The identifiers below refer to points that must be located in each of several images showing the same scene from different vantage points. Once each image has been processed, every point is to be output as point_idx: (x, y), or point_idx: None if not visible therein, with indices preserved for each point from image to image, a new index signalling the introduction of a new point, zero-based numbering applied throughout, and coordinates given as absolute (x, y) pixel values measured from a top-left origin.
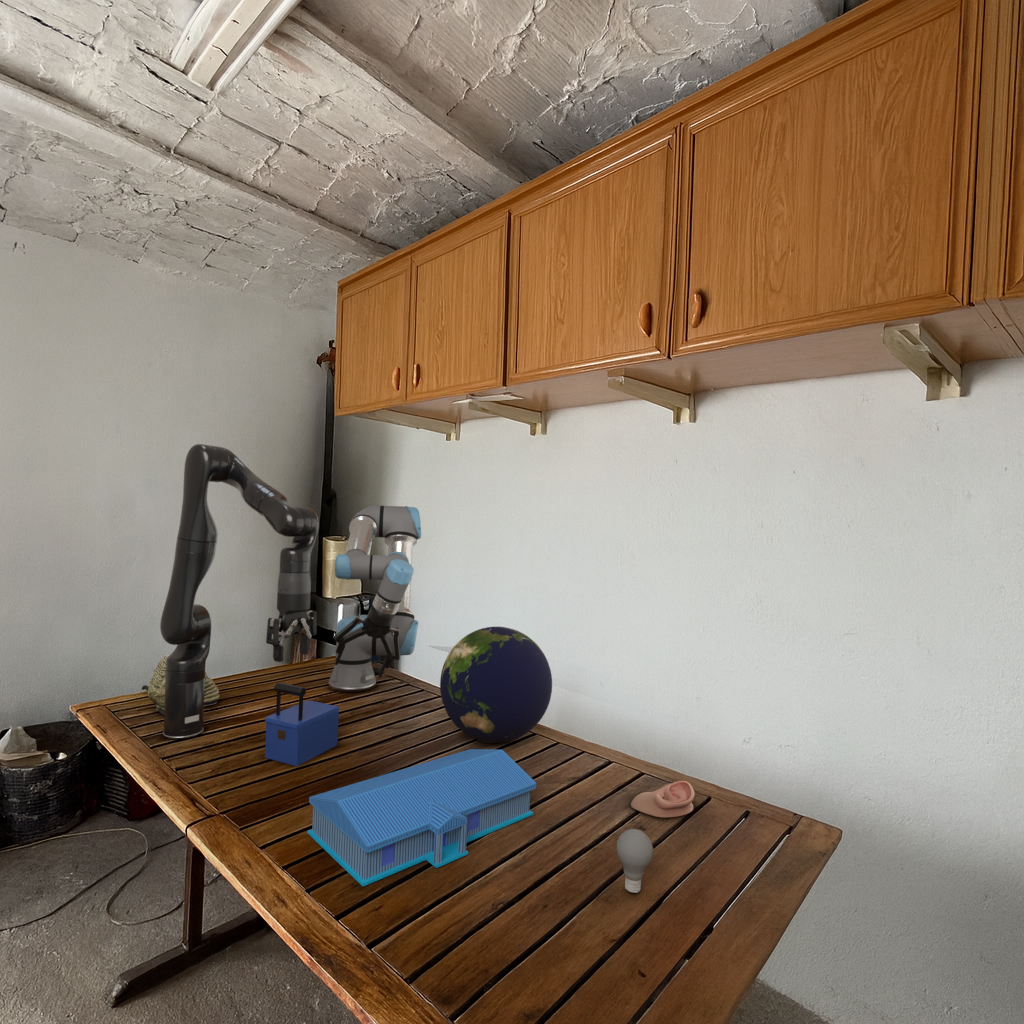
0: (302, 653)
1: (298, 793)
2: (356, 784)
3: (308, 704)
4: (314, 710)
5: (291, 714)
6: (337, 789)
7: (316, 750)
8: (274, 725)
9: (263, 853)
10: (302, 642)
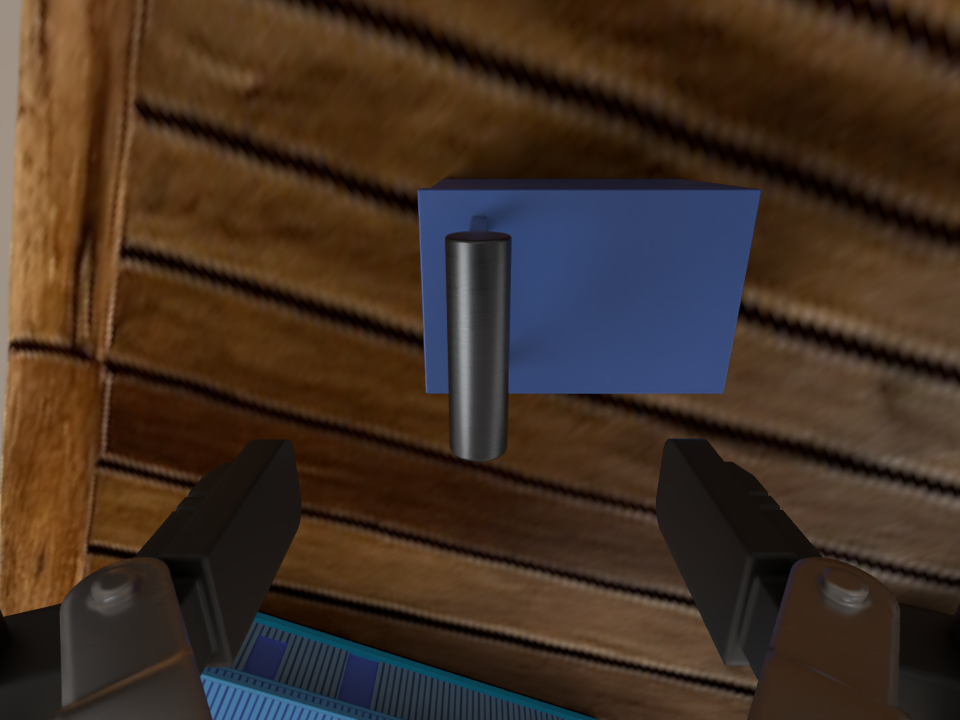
0: (664, 471)
1: (313, 454)
2: (262, 711)
3: (692, 243)
4: (623, 332)
5: (521, 276)
6: (215, 690)
7: None
8: None
9: (81, 565)
10: (718, 558)
